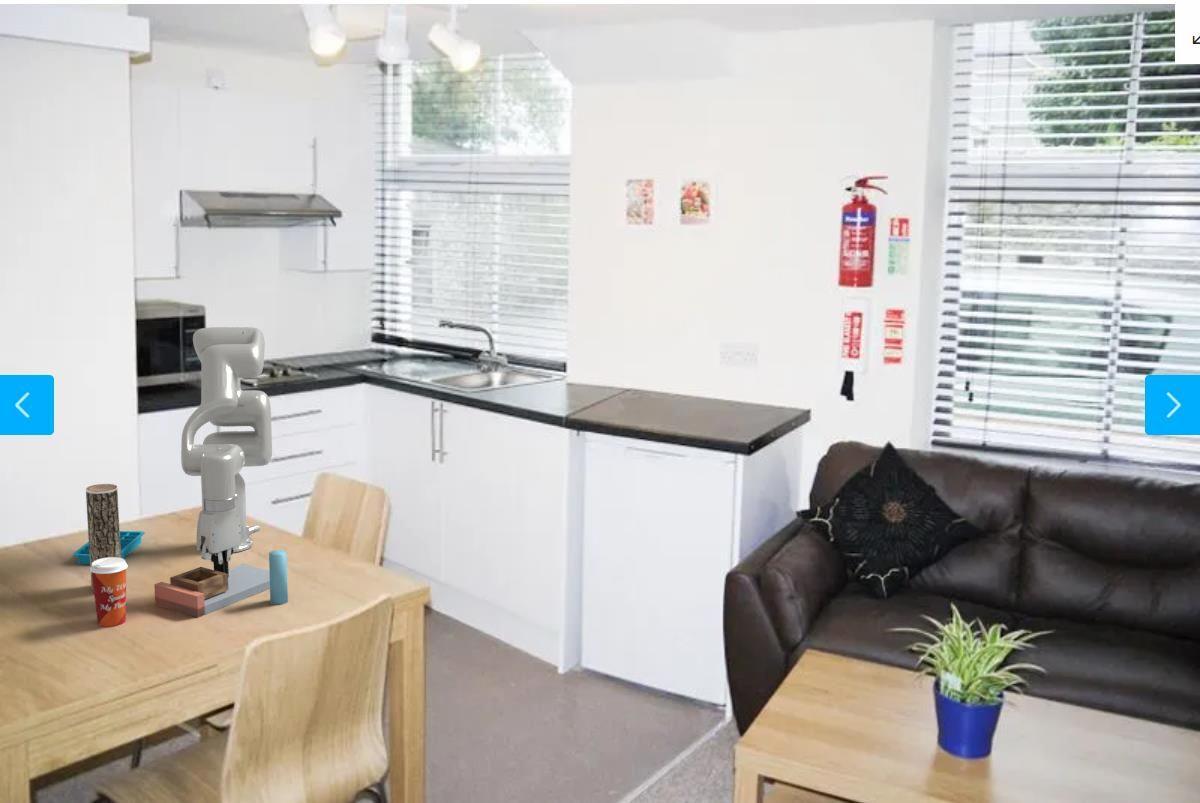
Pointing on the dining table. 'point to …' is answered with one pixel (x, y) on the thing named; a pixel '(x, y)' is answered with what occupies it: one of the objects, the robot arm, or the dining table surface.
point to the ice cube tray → (127, 544)
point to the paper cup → (109, 590)
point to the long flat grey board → (190, 602)
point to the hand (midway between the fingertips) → (221, 577)
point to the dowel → (278, 577)
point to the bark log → (103, 522)
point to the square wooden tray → (202, 581)
